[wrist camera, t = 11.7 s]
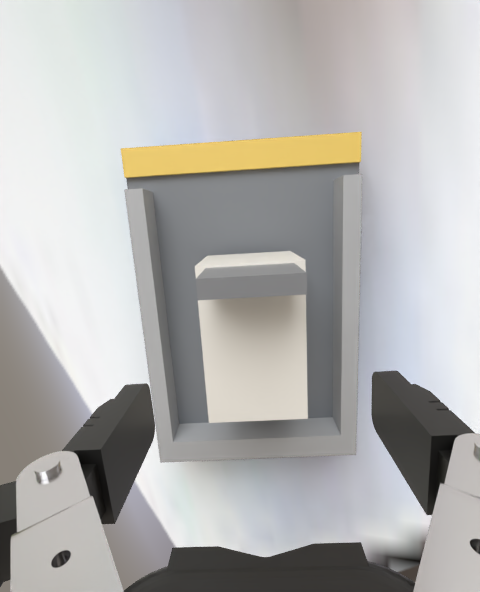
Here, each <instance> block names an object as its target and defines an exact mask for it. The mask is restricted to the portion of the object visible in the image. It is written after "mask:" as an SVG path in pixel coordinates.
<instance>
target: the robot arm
mask: <svg viewBox="0 0 480 592" xmlns="http://www.w3.org/2000/svg"><path fill="white" fill-rule="evenodd" d="M372 420H373V425H374V428H375V430H376V432H377V434H378V435H379V437H380V439H381V440H382V442H383V444H384V445H385V447H386V449H387V450H388V452H389V454H390V455H391V457H392V458H393V460H394V462H395V463H396V465H397V467H398V468H399V470H400V472H401V473H402V475H403V477H404V478H405V480H406V482H407V483H408V485H409V486H410V488H411V490H412V491H413V493H414V495H415V496H416V498H417V500H418V501H419V503H420V505H421V506H422V508H423V509H424V511H425V513H426V514H427V515H432V518H431V522H430V526H429V530H428V534H427V538H426V542H425V546H424V550H423V554H422V558H421V562H420V566H419V570H418V574H417V578H416V582H413V581H412V580H410V579H408V578H407V577H405V576H403V575H401V574H400V573H398V572H396V571H394V570H391V569H389V568H387V567H384V566H382V565H379V564H376V563H373V562H369V561H367V559H366V556H365V553H364V550H363V547H362V545H361V542H359V543H324V544H311V545H308V546H305V547H301V548H298V549H295V550H291V551H288V552H285V553H281V554H278V555H275V556H271V557H259V556H255V555H251V554H247V553H242V552H238V551H234V550H230V549H226V548H222V547H182V548H172V552H171V556H170V560H169V564H168V566H167V567H164V568H161V569H159V570H157V571H154V572H152V573H150V574H148V575H146V576H145V577H143V578H141V579H139V580H138V581H136V582H135V583H133V584H132V585H131V586H129V587H128V588H127V589H126V590H124V591H123V588H122V585H121V582H120V579H119V576H118V573H117V570H116V567H115V564H114V560H113V557H112V554H111V551H110V548H109V545H108V542H107V539H106V536H105V533H104V530H103V526H102V524H115V522H116V520H117V518H118V516H119V513H120V511H121V509H122V507H123V505H124V503H125V500H126V498H127V496H128V494H129V492H130V489H131V487H132V485H133V483H134V481H135V478H136V476H137V474H138V472H139V470H140V468H141V465H142V463H143V461H144V459H145V457H146V454H147V452H148V450H149V448H150V446H151V443H152V441H153V438H154V432H155V422H154V415H153V408H152V401H151V394H150V389H149V386H148V384H131V385H125V386H124V387H123V388H122V390H121V391H120V392H119V394H118V395H117V396H116V397H115V399H110V400H109V401H107V402H106V403H104V404H103V405H101V406H100V407H98V408H97V409H96V411H95V412H94V413H93V414H92V415H91V417H90V419H88V420H87V421H86V423H85V424H84V425H83V427H81V429H80V430H79V431H78V432H77V433H76V434H75V436H74V437H73V438H72V439H71V440H70V442H69V443H68V444H67V445H66V447H65V448H64V449H63V450H62V451H60V452H55V453H51V454H48V455H45V456H43V457H41V458H39V459H37V460H35V461H34V462H33V463H31V464H29V465H28V466H27V467H26V468H25V469H24V470H23V471H22V472H21V473H20V474H19V476H18V478H17V480H16V481H15V482H11V483H7V484H4V485H0V587H1V585H2V583H3V582H5V581H8V580H11V592H480V434H476V433H474V432H473V431H472V430H471V429H470V428H469V427H468V426H467V425H466V424H465V423H464V422H463V421H461V420H460V419H459V418H458V417H457V416H456V415H455V414H454V413H453V412H452V411H451V410H450V411H449V409H448V408H447V407H446V406H445V405H444V404H443V403H441V402H440V400H439V399H438V398H437V397H436V396H434V395H433V394H432V393H431V392H430V391H428V390H426V389H424V388H422V387H420V386H418V385H416V384H410V383H409V382H408V381H407V380H406V379H405V378H404V377H403V376H402V375H401V374H400V373H399V372H398V371H383V372H374V373H373V376H372Z"/></svg>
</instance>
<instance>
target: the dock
mask: <svg viewBox="0 0 480 592" xmlns="http://www.w3.org/2000/svg"><path fill="white" fill-rule="evenodd" d="M121 154H122V161H123V169H124V177H125V178H126V179H127V186H128V189H126V190H125V198H126V205H127V213H128V220H129V228H130V235H131V243H132V250H133V258H134V266H135V273H136V281H137V288H138V296H139V303H140V311H141V318H142V326H143V333H144V341H145V349H146V356H147V364H148V371H149V379H150V386H151V394H152V401H153V409H154V416H155V424H156V432H157V439H158V447H159V454H160V462H184V461H210V460H235V459H260V458H286V457H311V456H337V455H356V432H357V387H358V341H359V296H360V251H361V205H362V174H359V162H361V132H353V133H338V134H324V135H309V136H295V137H281V138H266V139H252V140H237V141H223V142H209V143H194V144H180V145H165V146H151V147H137V148H122V149H121ZM279 251H291V252H293V253H295V254H296V255H298V256H300V257H301V258H303V259H305V265H306V273H307V295H306V332H307V399H308V419H290V420H266V421H243V422H219V423H209V418H208V407H207V396H206V385H205V374H204V363H203V352H202V341H201V330H200V319H199V308H198V298H197V287H196V275H195V266H196V265H197V264H198V263H199V262H200V261H202V260H203V259H204V258H205V257H207V256H210V255H227V254H245V253H262V252H279Z"/></svg>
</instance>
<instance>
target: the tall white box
mask: <svg viewBox="0 0 480 592" xmlns="http://www.w3.org/2000/svg"><path fill="white" fill-rule="evenodd" d="M195 275H196V287H197V298H198V308H199V319H200V330H201V341H202V352H203V363H204V374H205V385H206V396H207V407H208V418H209V423H219V422H243V421H266V420H290V419H308V399H307V332H306V295H307V273H306V265H305V259H303V258H301V257H300V256H298V255H296V254H295V253H293V252H291V251H279V252H262V253H245V254H227V255H210V256H207V257H205V258H204V259H203V260H202V261H200V262H199V263H198V264H197V265H196V266H195Z"/></svg>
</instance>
